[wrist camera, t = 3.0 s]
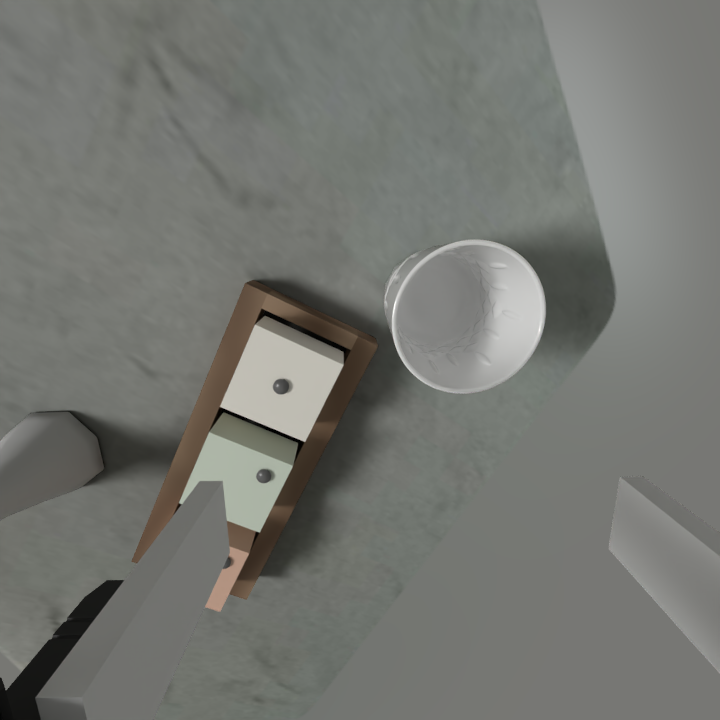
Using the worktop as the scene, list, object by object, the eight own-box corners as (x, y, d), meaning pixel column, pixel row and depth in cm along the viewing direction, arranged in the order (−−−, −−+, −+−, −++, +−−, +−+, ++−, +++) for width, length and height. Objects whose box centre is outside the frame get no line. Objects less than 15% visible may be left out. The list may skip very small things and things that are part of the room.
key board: (146, 539, 34) (131, 561, 32) (253, 279, 28) (245, 283, 26) (253, 576, 36) (246, 599, 33) (375, 338, 30) (378, 346, 27)
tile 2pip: (195, 476, 30) (177, 504, 27) (223, 412, 28) (208, 433, 25) (268, 504, 31) (259, 534, 28) (298, 443, 29) (292, 467, 26)
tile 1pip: (233, 389, 28) (218, 408, 25) (265, 315, 27) (254, 325, 23) (309, 421, 29) (304, 443, 26) (343, 351, 28) (343, 365, 24)
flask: (-8, 426, 31) (-168, 508, 21) (74, 396, 30) (-51, 466, 21) (44, 499, 33) (-82, 604, 23) (121, 472, 32) (27, 568, 23)
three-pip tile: (162, 554, 32) (141, 589, 29) (187, 497, 30) (168, 527, 27) (231, 577, 33) (219, 614, 29) (258, 523, 31) (248, 555, 28)
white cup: (410, 221, 28) (446, 207, 18) (499, 276, 29) (578, 290, 19) (356, 317, 29) (363, 351, 20) (443, 364, 31) (489, 418, 21)
